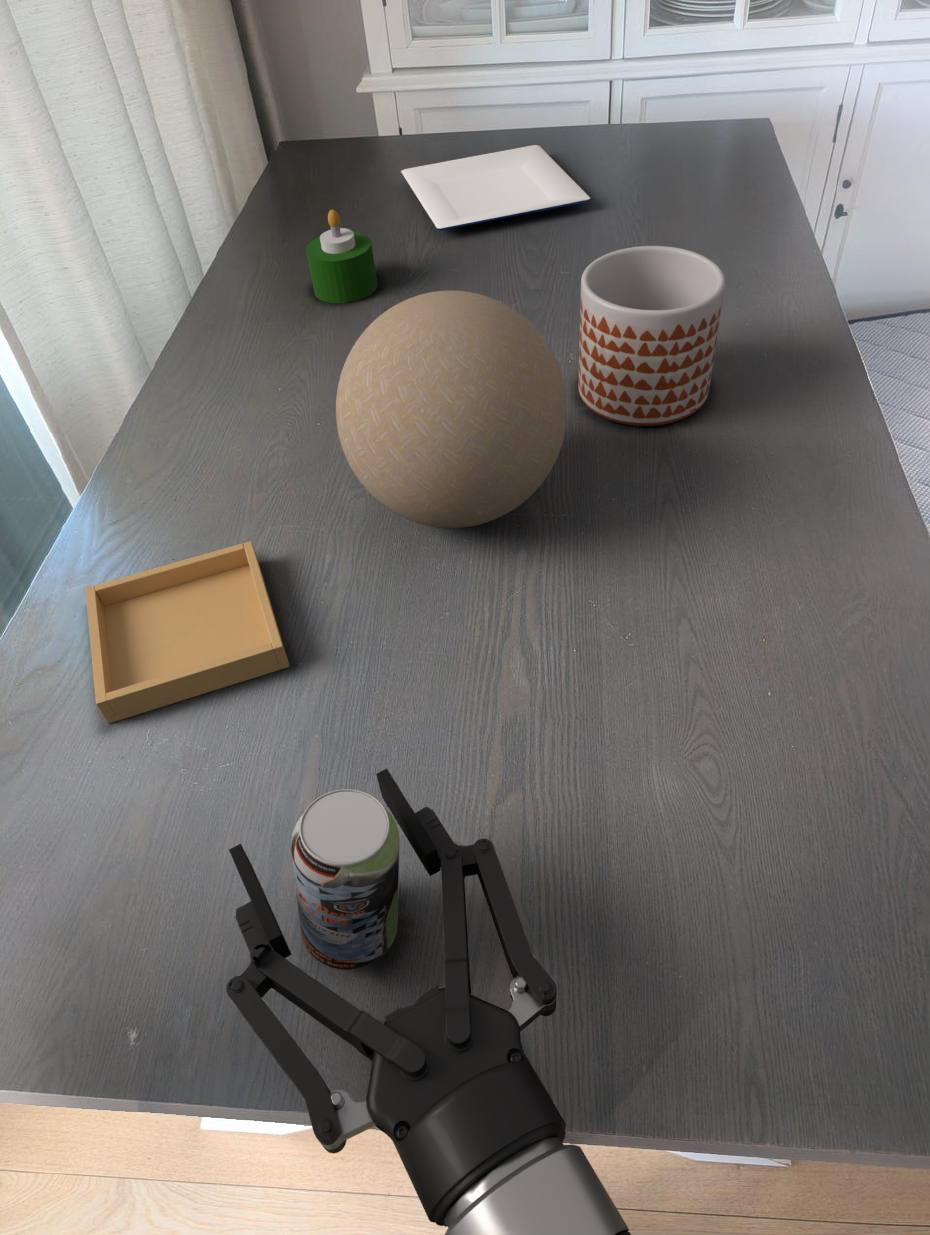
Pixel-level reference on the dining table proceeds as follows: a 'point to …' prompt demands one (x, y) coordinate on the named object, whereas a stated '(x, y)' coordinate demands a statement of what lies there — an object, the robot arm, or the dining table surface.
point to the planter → (648, 333)
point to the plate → (492, 187)
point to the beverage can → (346, 878)
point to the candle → (341, 264)
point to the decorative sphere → (451, 409)
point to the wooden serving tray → (181, 631)
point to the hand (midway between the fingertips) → (314, 819)
